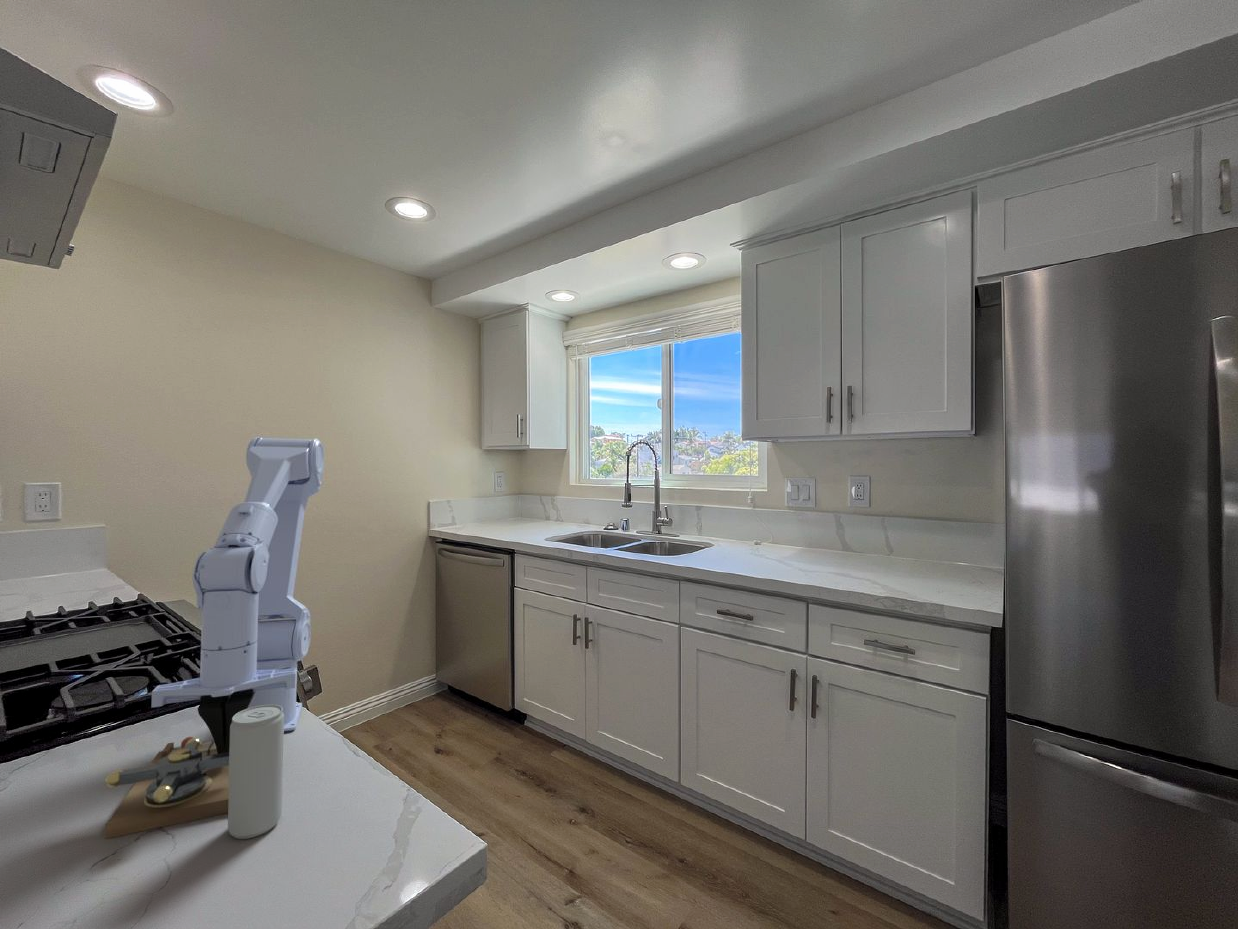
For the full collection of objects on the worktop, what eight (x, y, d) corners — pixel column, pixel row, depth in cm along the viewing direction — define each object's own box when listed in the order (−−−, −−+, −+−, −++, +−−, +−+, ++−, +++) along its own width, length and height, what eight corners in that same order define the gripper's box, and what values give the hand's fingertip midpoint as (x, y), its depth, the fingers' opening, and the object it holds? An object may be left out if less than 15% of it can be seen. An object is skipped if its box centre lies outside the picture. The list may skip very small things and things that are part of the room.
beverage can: (254, 845, 55) (257, 725, 55) (215, 838, 56) (218, 721, 56) (292, 816, 59) (294, 706, 60) (255, 810, 60) (258, 702, 61)
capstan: (128, 771, 64) (129, 739, 64) (256, 749, 70) (257, 719, 70) (76, 837, 53) (78, 797, 53) (234, 804, 58) (235, 768, 58)
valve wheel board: (158, 763, 70) (159, 734, 70) (268, 744, 75) (268, 717, 75) (105, 838, 55) (106, 802, 55) (245, 809, 60) (246, 775, 61)
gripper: (143, 661, 60) (139, 784, 60) (293, 645, 67) (291, 756, 66) (164, 643, 67) (160, 754, 66) (299, 630, 73) (297, 731, 73)
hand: (226, 754), depth 67 cm, fingers closed
